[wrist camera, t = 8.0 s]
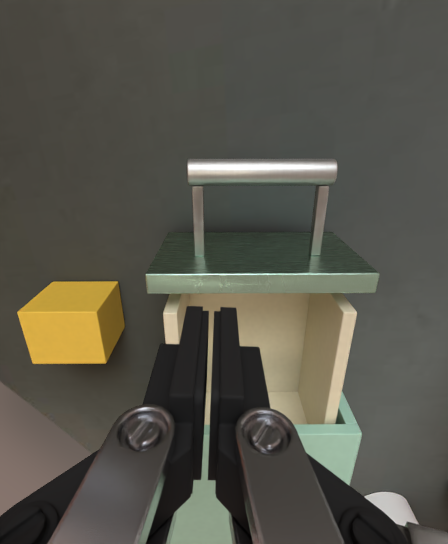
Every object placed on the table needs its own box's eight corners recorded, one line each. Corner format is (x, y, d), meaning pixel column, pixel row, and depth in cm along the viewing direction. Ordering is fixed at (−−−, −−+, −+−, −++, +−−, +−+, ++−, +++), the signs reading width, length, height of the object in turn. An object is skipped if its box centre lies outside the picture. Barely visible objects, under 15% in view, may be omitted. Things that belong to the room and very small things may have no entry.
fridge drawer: (162, 154, 21) (132, 163, 14) (343, 153, 21) (404, 163, 14) (180, 389, 30) (166, 469, 23) (310, 389, 30) (337, 469, 23)
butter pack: (52, 281, 26) (16, 312, 22) (118, 281, 26) (96, 311, 22) (63, 326, 28) (32, 364, 23) (125, 326, 28) (106, 364, 23)
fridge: (171, 343, 29) (149, 435, 20) (319, 342, 29) (362, 434, 20) (181, 464, 35) (168, 573, 27) (301, 463, 35) (328, 572, 27)
